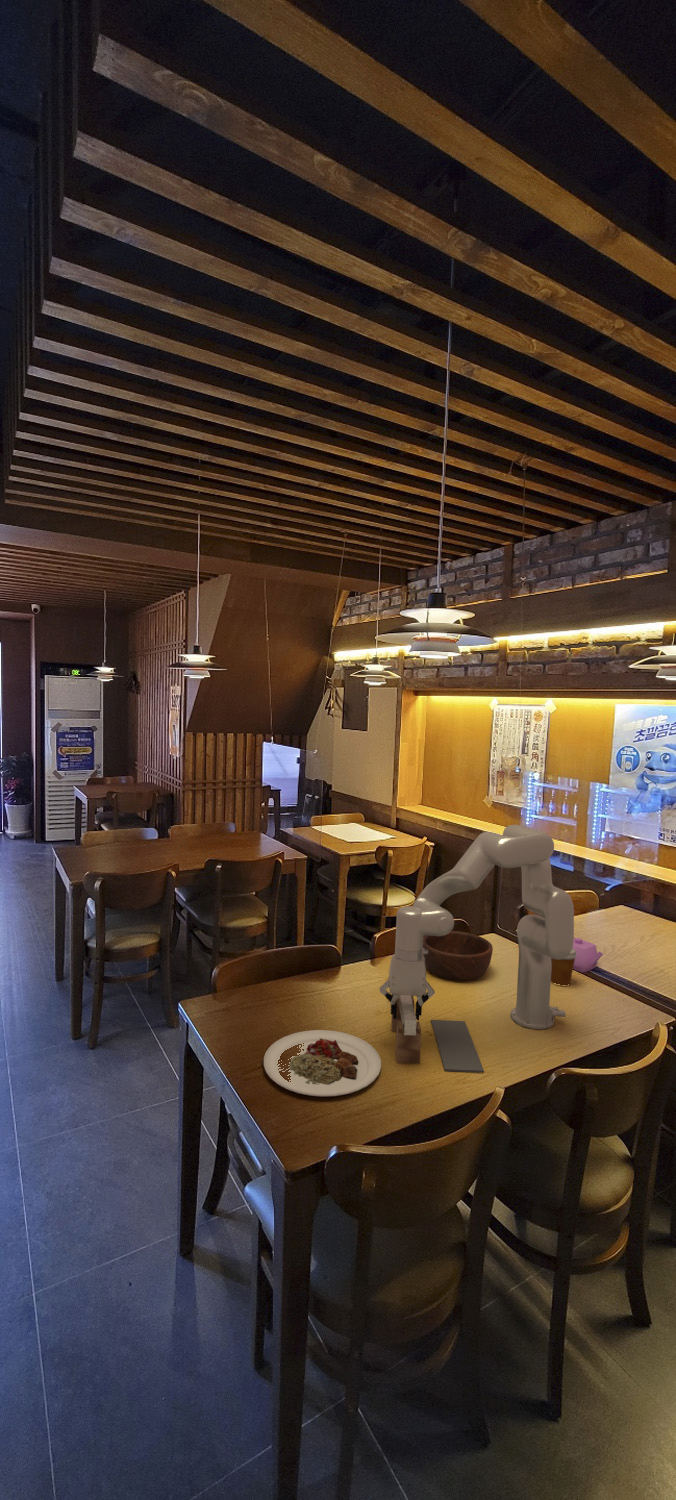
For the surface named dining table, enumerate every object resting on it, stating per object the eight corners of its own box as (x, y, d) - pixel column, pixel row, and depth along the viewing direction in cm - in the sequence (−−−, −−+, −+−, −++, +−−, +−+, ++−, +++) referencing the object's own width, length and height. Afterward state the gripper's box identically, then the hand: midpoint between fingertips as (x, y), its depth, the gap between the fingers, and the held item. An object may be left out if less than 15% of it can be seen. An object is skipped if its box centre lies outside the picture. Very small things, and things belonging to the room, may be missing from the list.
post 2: (418, 1055, 168) (419, 1021, 167) (419, 1063, 164) (421, 1029, 163) (395, 1054, 168) (396, 1020, 167) (396, 1062, 164) (398, 1028, 163)
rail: (407, 997, 184) (408, 983, 184) (415, 1035, 162) (416, 1020, 162) (397, 996, 184) (397, 983, 184) (404, 1035, 162) (404, 1019, 162)
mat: (464, 1023, 186) (464, 1021, 186) (483, 1073, 160) (484, 1070, 160) (431, 1021, 186) (431, 1019, 186) (444, 1071, 160) (444, 1068, 160)
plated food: (286, 1114, 141) (286, 1100, 141) (249, 1047, 169) (249, 1035, 168) (402, 1087, 153) (403, 1073, 153) (350, 1029, 181) (351, 1017, 181)
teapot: (608, 971, 230) (610, 943, 229) (593, 977, 223) (594, 949, 223) (564, 955, 244) (565, 929, 243) (548, 961, 238) (549, 934, 237)
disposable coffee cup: (577, 981, 219) (579, 947, 219) (571, 991, 211) (573, 956, 211) (549, 974, 224) (551, 941, 224) (542, 983, 216) (544, 949, 216)
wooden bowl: (420, 954, 239) (421, 927, 239) (487, 960, 236) (489, 933, 235) (420, 981, 215) (421, 952, 214) (495, 988, 211) (496, 958, 211)
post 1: (411, 1025, 184) (413, 994, 183) (413, 1032, 180) (414, 1001, 179) (391, 1024, 184) (392, 994, 183) (392, 1031, 180) (393, 1000, 179)
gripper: (438, 949, 176) (435, 1012, 177) (376, 946, 176) (374, 1009, 177) (442, 959, 168) (439, 1025, 169) (378, 956, 168) (375, 1022, 170)
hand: (405, 1016), depth 173 cm, fingers open, 5 cm apart
